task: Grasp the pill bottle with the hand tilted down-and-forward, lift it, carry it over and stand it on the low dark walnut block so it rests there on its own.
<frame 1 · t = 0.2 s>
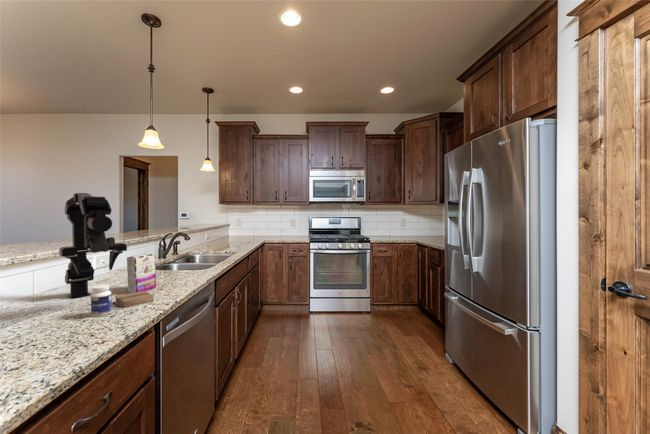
hand: (95, 272, 104), 14 cm above the countertop, tool pointing down, fingers open, 9 cm apart
candy bar box: (142, 290, 129), on the countertop
pill bottle: (101, 314, 100), on the countertop
walnut block: (134, 301, 113), on the countertop
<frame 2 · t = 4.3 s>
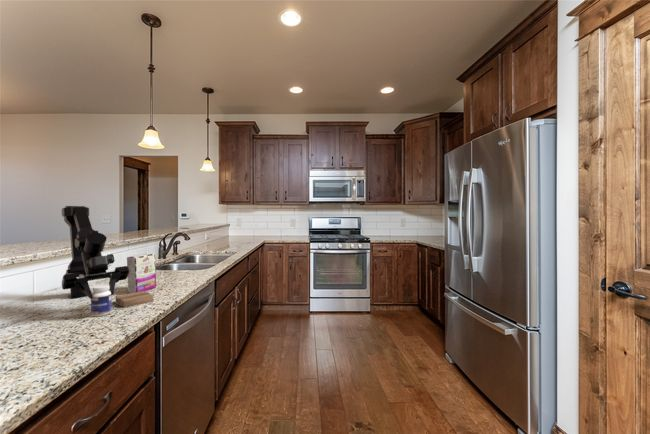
hand: (102, 296, 99), 7 cm above the countertop, tool tilted 45°, fingers closed on pill bottle, 6 cm apart
pill bottle: (101, 314, 100), on the countertop, touching gripper
everything else where it was.
when the fingers open (9 cm above the countertop, at t = 8.1 s): pill bottle stays where it is, resting on walnut block.
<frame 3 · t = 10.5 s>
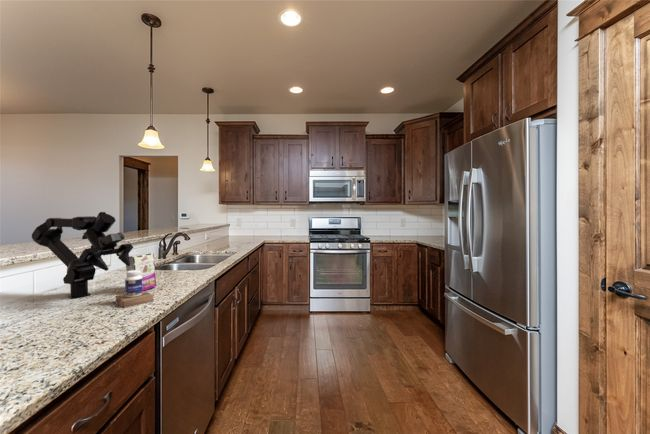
hand: (118, 267, 115), 13 cm above the countertop, tool tilted 45°, fingers open, 9 cm apart
pill bottle: (134, 296, 113), point 2 cm above the countertop, touching walnut block
everything else where it was.
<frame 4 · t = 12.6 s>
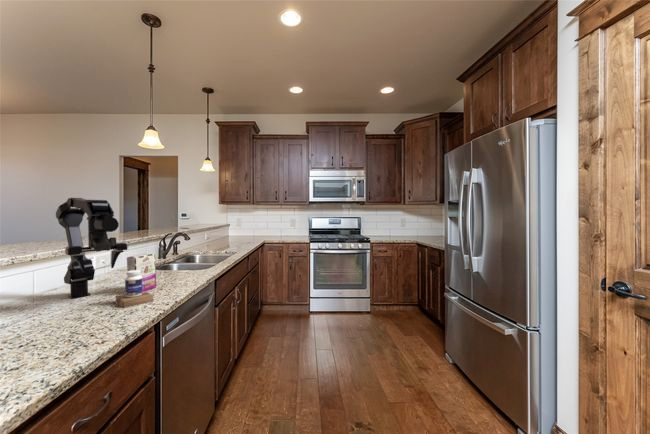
hand: (98, 269, 112), 13 cm above the countertop, tool pointing down, fingers open, 9 cm apart
nothing on the countertop moved.
at the end: pill bottle inside the target area on the walnut block (0.2 cm from its centre), point 2.3 cm above the walnut block's base; pill bottle tilted 0°; the gripper is holding nothing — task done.
